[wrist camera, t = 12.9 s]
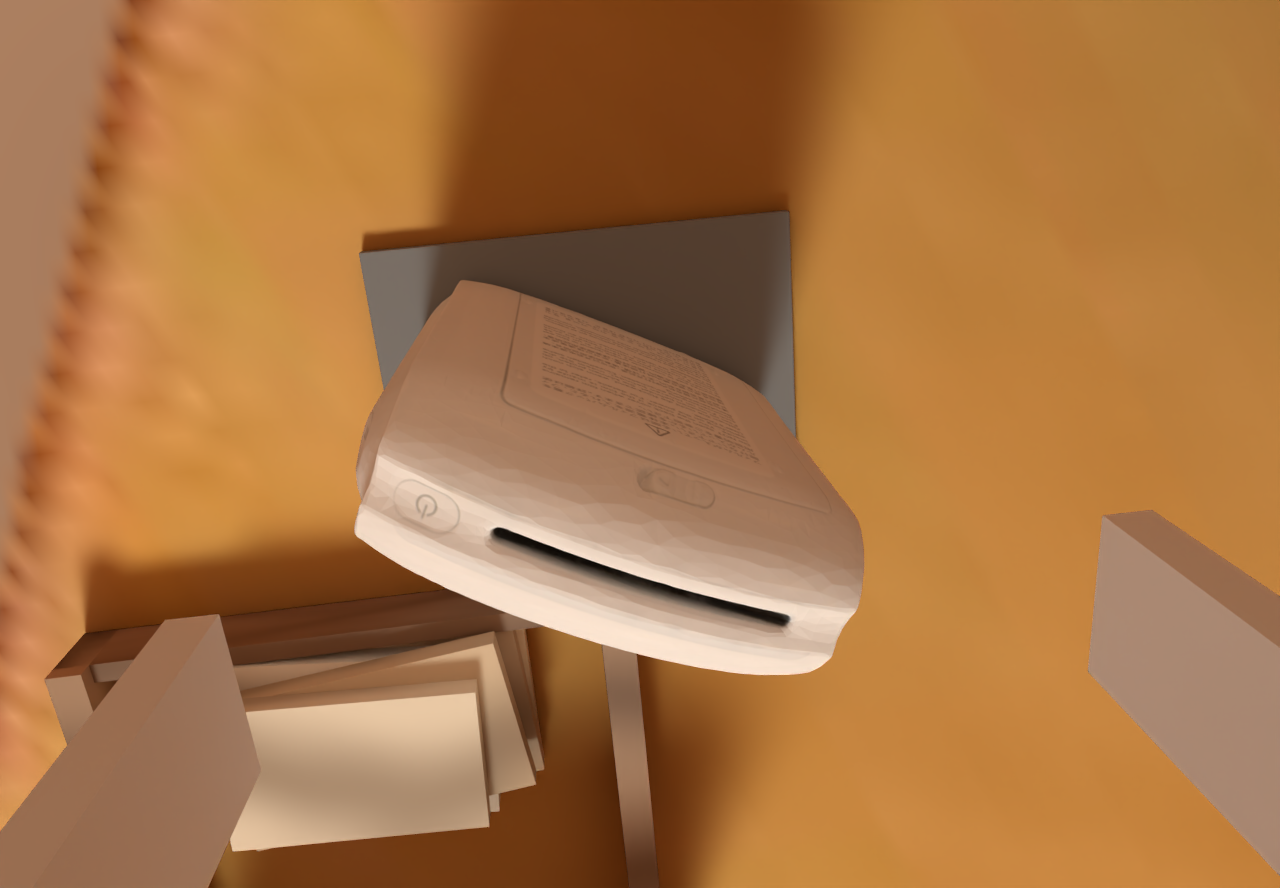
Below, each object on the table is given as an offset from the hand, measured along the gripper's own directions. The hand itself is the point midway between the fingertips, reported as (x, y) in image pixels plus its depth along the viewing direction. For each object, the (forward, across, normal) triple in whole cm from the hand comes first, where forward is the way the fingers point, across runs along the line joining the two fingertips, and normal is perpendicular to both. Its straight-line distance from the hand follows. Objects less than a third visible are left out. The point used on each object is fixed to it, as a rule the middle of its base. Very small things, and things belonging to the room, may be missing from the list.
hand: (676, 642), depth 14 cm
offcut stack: (+15, -9, -10) cm, 20 cm away
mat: (+15, -1, 0) cm, 15 cm away
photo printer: (+15, -1, 0) cm, 15 cm away
